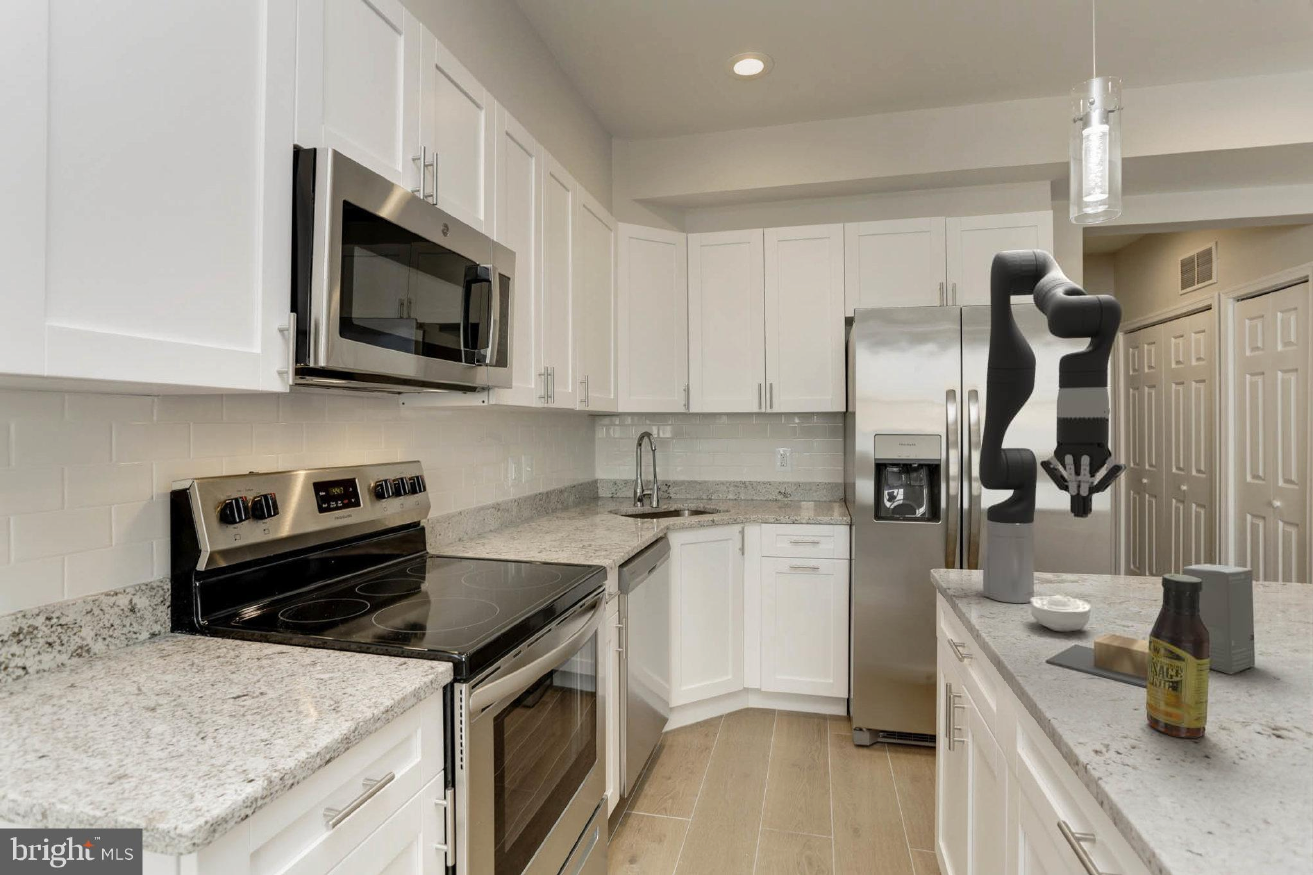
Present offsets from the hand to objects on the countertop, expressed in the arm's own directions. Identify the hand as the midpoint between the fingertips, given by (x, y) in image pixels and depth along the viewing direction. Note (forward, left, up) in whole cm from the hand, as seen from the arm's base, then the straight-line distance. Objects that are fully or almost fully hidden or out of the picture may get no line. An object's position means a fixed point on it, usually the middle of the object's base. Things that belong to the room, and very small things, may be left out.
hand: (1081, 516), depth 117 cm
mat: (+6, -4, -23) cm, 24 cm away
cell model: (-8, +11, -23) cm, 27 cm away
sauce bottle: (+19, -23, -23) cm, 38 cm away
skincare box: (+16, +10, -23) cm, 30 cm away
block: (+4, -4, -21) cm, 22 cm away
